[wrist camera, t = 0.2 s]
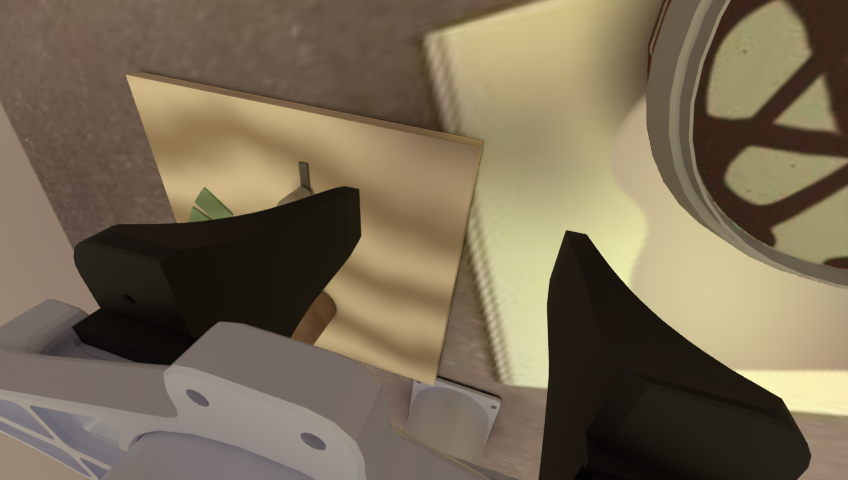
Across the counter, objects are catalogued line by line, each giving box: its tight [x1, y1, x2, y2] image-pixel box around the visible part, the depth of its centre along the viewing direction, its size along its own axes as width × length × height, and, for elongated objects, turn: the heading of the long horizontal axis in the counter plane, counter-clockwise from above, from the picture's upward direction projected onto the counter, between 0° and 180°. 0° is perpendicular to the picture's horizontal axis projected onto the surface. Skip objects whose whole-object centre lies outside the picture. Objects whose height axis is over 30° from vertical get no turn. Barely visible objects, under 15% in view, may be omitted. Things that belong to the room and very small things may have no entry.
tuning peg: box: [277, 187, 336, 345], centre depth 27 cm, size 13×4×3 cm, turn 174°
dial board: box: [126, 72, 484, 386], centre depth 29 cm, size 22×24×1 cm
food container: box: [646, 0, 848, 289], centre depth 12 cm, size 12×6×10 cm, turn 67°
